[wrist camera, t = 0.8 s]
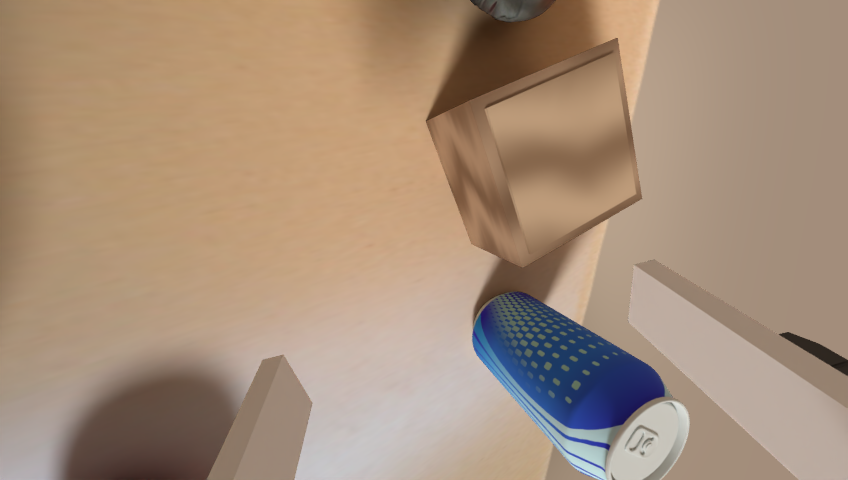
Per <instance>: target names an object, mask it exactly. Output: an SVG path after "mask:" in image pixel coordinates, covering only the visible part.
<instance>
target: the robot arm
mask: <svg viewBox="0 0 848 480" xmlns="http://www.w3.org/2000/svg"><path fill="white" fill-rule="evenodd" d="M628 322H629V323H630V324H631V325H632V326H633V327H634V328H635V329H636V330H638V331H639V332H640V333H641V334H642V335H643V336H644V337H645V338H646V339H647V340H648V341H649V342H650V343H652V344H653V345H654V346H655V347H656V348H657V349H658V350H659V351H660V352H661V353H662V354H663V355H665V356H666V357H667V358H668V359H669V360H670V361H671V362H672V363H673V364H674V365H675V366H676V367H677V368H679V369H680V370H681V371H682V372H683V373H684V374H685V375H686V376H687V377H688V378H689V379H690V380H692V381H693V382H694V383H695V384H696V385H697V386H698V387H699V388H700V389H701V390H702V391H703V392H705V393H706V394H707V395H708V396H709V397H710V398H711V399H712V400H713V401H714V402H715V403H716V404H717V405H719V406H720V407H721V408H722V409H723V410H724V411H725V412H726V413H727V414H728V415H729V416H730V417H732V418H733V419H734V420H735V421H736V422H737V423H738V424H739V425H740V426H741V427H742V428H744V430H746V431H747V432H748V433H749V434H750V435H751V436H752V437H753V438H754V439H755V440H757V442H759V443H760V444H761V445H762V446H763V447H764V448H765V449H766V450H767V451H768V452H769V453H770V454H771V455H773V456H774V457H775V458H776V459H777V460H778V461H779V462H780V463H781V464H782V465H783V466H784V467H786V468H787V469H788V470H789V471H790V472H791V473H792V474H793V475H794V476H795V477H796V478H797V479H798V480H848V360H847V359H845V358H843V357H842V356H839V355H838V354H836V353H834V352H832V351H831V350H829V349H827V348H826V347H824V346H822V345H820V344H818V343H816V342H813V341H810V340H808V339H805V338H802V337H800V336H797V335H794V334H791V333H789V332H787V333H782V334H777V333H775V332H773V331H772V330H770V329H768V328H767V327H765V326H764V325H762V324H760V323H759V322H757V321H755V320H754V319H752V318H750V317H748V316H747V315H745V314H744V313H742V312H740V311H739V310H737V309H735V308H734V307H732V306H730V305H729V304H727V303H725V302H724V301H722V300H720V299H719V298H717V297H715V296H714V295H712V294H710V293H709V292H707V291H706V290H704V289H702V288H701V287H698V286H697V285H696V284H694V283H692V282H690V281H689V280H687V279H686V278H684V277H682V276H681V275H679V274H677V273H676V272H674V271H672V270H671V269H669V268H667V267H666V266H664V265H662V264H661V263H659V262H657V261H656V260H651V261H647V262H643V263H639V264H635V265H634V269H633V279H632V289H631V298H630V307H629V317H628ZM311 407H312V401H311V400H310V398H309V396H308V395H307V393H306V391H305V390H304V388H303V386H302V385H301V383H300V381H299V380H298V378H297V376H296V375H295V373H294V372H293V370H292V368H291V367H290V365H289V363H288V362H287V360H286V358H285V357H284V355H280V356H276V357H272V358H268V359H264V360H262V362H261V365H260V367H259V369H258V371H257V373H256V375H255V377H254V380H253V382H252V384H251V386H250V388H249V390H248V392H247V394H246V397H245V399H244V401H243V403H242V405H241V407H240V409H239V412H238V414H237V416H236V418H235V420H234V422H233V424H232V427H231V429H230V431H229V433H228V435H227V437H226V439H225V441H224V444H223V446H222V448H221V450H220V452H219V454H218V456H217V459H216V461H215V463H214V465H213V467H212V469H211V471H210V474H209V476H208V478H207V480H294V478H295V474H296V470H297V465H298V461H299V457H300V453H301V449H302V445H303V440H304V436H305V432H306V428H307V424H308V420H309V415H310V411H311Z"/></svg>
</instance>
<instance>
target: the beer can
mask: <svg viewBox="0 0 848 480" xmlns="http://www.w3.org/2000/svg"><path fill="white" fill-rule="evenodd" d="M472 342H473V347H474V350H475V352H476V354H477V356H478V357H479V358H480V359H481V361H482V362H483V363H484V364H485V365H486V366H487V368H488V369H489V370H490V371H491V372H492V373H493V375H494V376H495V377H496V378H497V379H498V380H499V382H500V383H501V384H502V385H503V386H504V387H505V388H506V390H507V391H508V392H509V393H510V394H511V395H512V397H513V398H514V399H515V400H516V401H517V402H518V404H519V405H520V406H521V407H522V408H523V409H524V411H525V412H526V413H527V414H528V415H529V416H530V418H531V419H532V420H533V421H534V422H535V423H536V425H537V426H538V427H539V428H540V429H541V430H542V431H543V433H544V434H545V435H546V436H547V437H548V438H549V440H550V441H551V442H552V443H553V444H554V445H555V447H556V448H557V449H558V450H559V451H560V452H561V454H562V455H563V456H564V457H565V458H566V459H567V461H568V462H569V463H570V464H571V465H572V466H573V467H574V468H575V469H576V470H578V471H580V472H581V473H583V474H586V475H588V476H591V477H593V478H596V479H598V480H661V479H662V478H663V477H664V476H665V475H666V474H667V473H668V472H669V470H670V469H671V468H672V467H673V465H674V464H675V462H676V461H677V459H678V458H679V456H680V454H681V452H682V450H683V448H684V446H685V443H686V440H687V437H688V432H689V426H690V420H689V414H688V411H687V409H686V407H685V406H684V405H683V403H681V402H680V401H679V400H677V399H675V398H673V397H672V395H671V394H670V392H669V391H668V389H667V387H666V386H665V384H664V383H663V381H662V379H661V378H660V376H659V375H658V374H657V372H656V371H655V370H654V369H653V368H652V367H650V366H649V365H647V364H646V363H644V362H642V361H641V360H639V359H637V358H635V357H634V356H632V355H631V354H629V353H627V352H625V351H624V350H622V349H620V348H619V347H617V346H615V345H613V344H612V343H610V342H608V341H606V340H605V339H603V338H601V337H600V336H598V335H596V334H595V333H593V332H591V331H590V330H588V329H586V328H584V327H583V326H581V325H579V324H578V323H576V322H574V321H572V320H571V319H569V318H567V317H566V316H564V315H562V314H561V313H559V312H557V311H555V310H554V309H552V308H550V307H549V306H547V305H545V304H543V303H542V302H540V301H538V300H537V299H535V298H533V297H531V296H530V295H528V294H526V293H522V292H508V293H504V294H502V295H498V296H496V297H494V298H492V299H490V300H489V301H487V302H486V303H485V304H484V305H483V306H482V308H481V309H480V310H479V312H478V314H477V316H476V318H475V321H474V325H473V333H472Z"/></svg>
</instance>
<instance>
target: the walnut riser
mask: <svg viewBox="0 0 848 480" xmlns="http://www.w3.org/2000/svg"><path fill="white" fill-rule="evenodd" d="M426 123H427V126H428V128H429V131H430V134H431V136H432V139H433V142H434V144H435V147H436V150H437V152H438V155H439V158H440V160H441V163H442V166H443V169H444V171H445V174H446V177H447V179H448V182H449V185H450V187H451V190H452V193H453V195H454V198H455V201H456V203H457V206H458V209H459V211H460V214H461V217H462V219H463V222H464V225H465V228H466V230H467V233H468V236H469V238H470V241H471V244H473V245H475V246H477V247H479V248H481V249H483V250H485V251H488V252H490V253H492V254H494V255H496V256H498V257H500V258H503V259H505V260H507V261H509V262H511V263H513V264H515V265H517V266H520V267H522V268H524V267H525V266H527V265H529V264H531V263H532V262H534V261H536V260H537V259H539V258H541V257H543V256H544V255H546V254H548V253H549V252H551V251H553V250H555V249H556V248H558V247H560V246H562V245H563V244H565V243H567V242H568V241H570V240H572V239H574V238H575V237H577V236H579V235H580V234H582V233H584V232H586V231H587V230H589V229H591V228H592V227H594V226H596V225H598V224H599V223H601V222H603V221H604V220H606V219H608V218H610V217H611V216H613V215H615V214H616V213H618V212H620V211H621V210H623V209H625V208H627V207H629V206H630V205H632V204H634V203H635V202H637V201H639V200H640V199H642V195H641V189H640V182H639V176H638V169H637V162H636V156H635V150H634V144H633V137H632V130H631V123H630V116H629V110H628V103H627V97H626V90H625V84H624V77H623V70H622V64H621V57H620V51H619V44H618V38H615V39H613V40H611V41H608V42H606V43H604V44H601V45H599V46H597V47H594V48H592V49H589V50H587V51H585V52H582V53H580V54H578V55H575V56H573V57H571V58H568V59H566V60H563V61H561V62H559V63H556V64H554V65H552V66H549V67H547V68H545V69H542V70H540V71H538V72H535V73H533V74H530V75H528V76H526V77H523V78H521V79H519V80H516V81H514V82H512V83H509V84H507V85H505V86H502V87H500V88H497V89H495V90H493V91H490V92H488V93H486V94H483V95H481V96H479V97H476V98H474V99H472V100H469V101H467V102H465V103H463V104H461V105H459V106H457V107H455V108H453V109H450V110H448V111H446V112H444V113H442V114H440V115H438V116H436V117H434V118H432V119H430V120H428V121H426Z"/></svg>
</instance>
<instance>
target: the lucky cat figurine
mask: <svg viewBox="0 0 848 480" xmlns="http://www.w3.org/2000/svg"><path fill="white" fill-rule="evenodd" d="M470 1H471V2H472V3H473V4H474V5H476V6H478V7H479V8H480V9H481V10H482V11H484V12H486V13H487V14H490V15H491V16H492V17H493V18H495V19H497V20H501V21H505V22H516V21H526V20H529V19H532V18H535V17H537V16H539V15H540V14H542V13H543V12H545V11H546V10H547V9H548V8H549V7H550V6H551V5H552V4H553V3H554V2H555V0H470Z"/></svg>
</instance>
